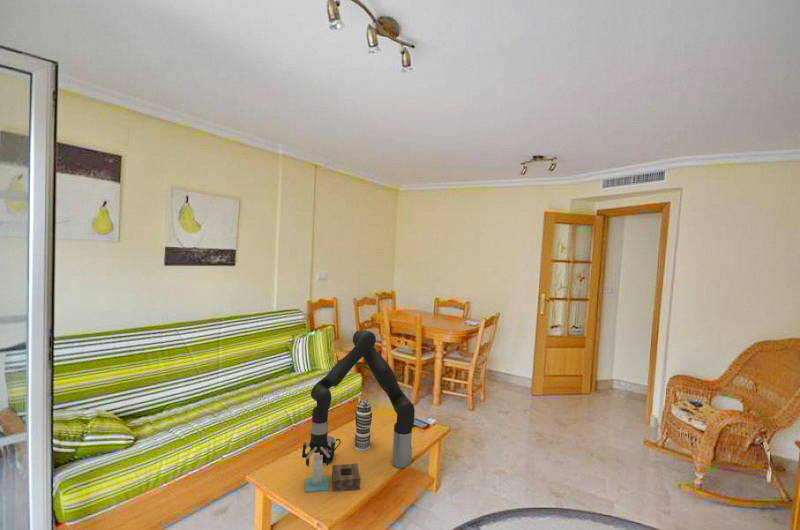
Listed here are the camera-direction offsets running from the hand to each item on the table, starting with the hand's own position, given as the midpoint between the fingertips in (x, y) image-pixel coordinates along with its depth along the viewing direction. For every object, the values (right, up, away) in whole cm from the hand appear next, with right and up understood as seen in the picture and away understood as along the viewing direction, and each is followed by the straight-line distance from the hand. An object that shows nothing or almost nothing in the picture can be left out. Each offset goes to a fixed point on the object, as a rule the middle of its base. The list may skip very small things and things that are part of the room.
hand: (317, 464), depth 168 cm
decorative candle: (+17, -9, +35) cm, 40 cm away
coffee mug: (+1, -9, +21) cm, 23 cm away
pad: (0, -9, 0) cm, 9 cm away
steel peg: (0, -9, 0) cm, 8 cm away
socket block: (+12, -10, +3) cm, 16 cm away
